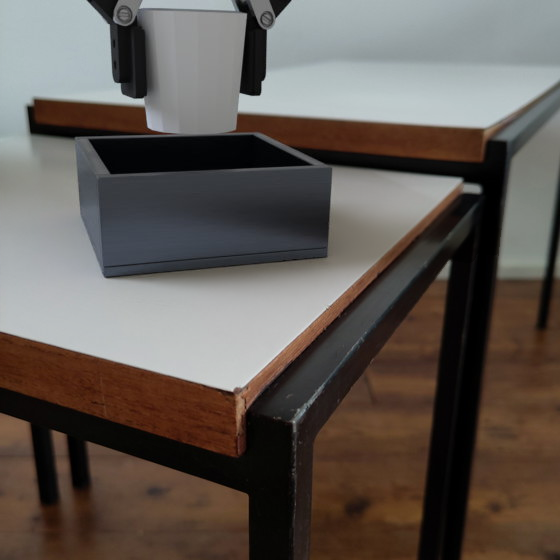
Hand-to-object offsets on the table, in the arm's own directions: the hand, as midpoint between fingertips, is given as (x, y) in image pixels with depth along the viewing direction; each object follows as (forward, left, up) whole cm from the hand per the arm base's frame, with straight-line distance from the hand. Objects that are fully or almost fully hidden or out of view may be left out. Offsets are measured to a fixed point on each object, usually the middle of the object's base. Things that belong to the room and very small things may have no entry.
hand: (191, 92), depth 44 cm
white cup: (0, 0, -2) cm, 2 cm away
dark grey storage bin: (0, 0, -9) cm, 9 cm away
